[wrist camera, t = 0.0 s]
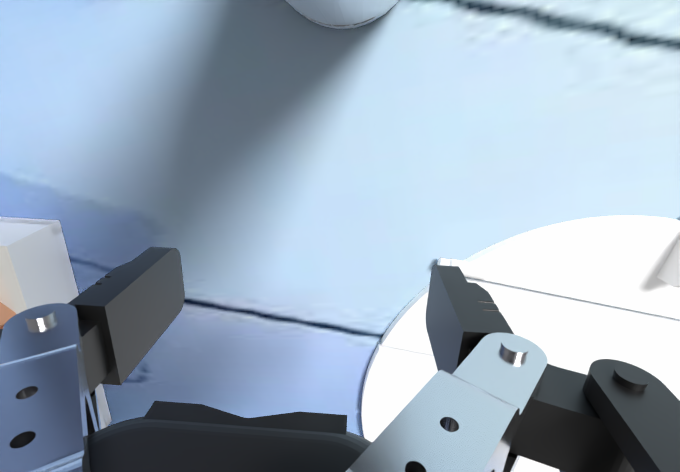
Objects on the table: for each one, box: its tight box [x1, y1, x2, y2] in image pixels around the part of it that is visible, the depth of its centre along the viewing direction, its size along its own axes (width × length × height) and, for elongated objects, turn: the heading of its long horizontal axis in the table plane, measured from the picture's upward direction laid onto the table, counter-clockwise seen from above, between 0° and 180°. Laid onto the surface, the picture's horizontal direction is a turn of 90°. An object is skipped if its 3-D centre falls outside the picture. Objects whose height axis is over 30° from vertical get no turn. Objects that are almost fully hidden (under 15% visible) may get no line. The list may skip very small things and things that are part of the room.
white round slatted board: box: [361, 215, 680, 472], centre depth 35 cm, size 40×39×3 cm
